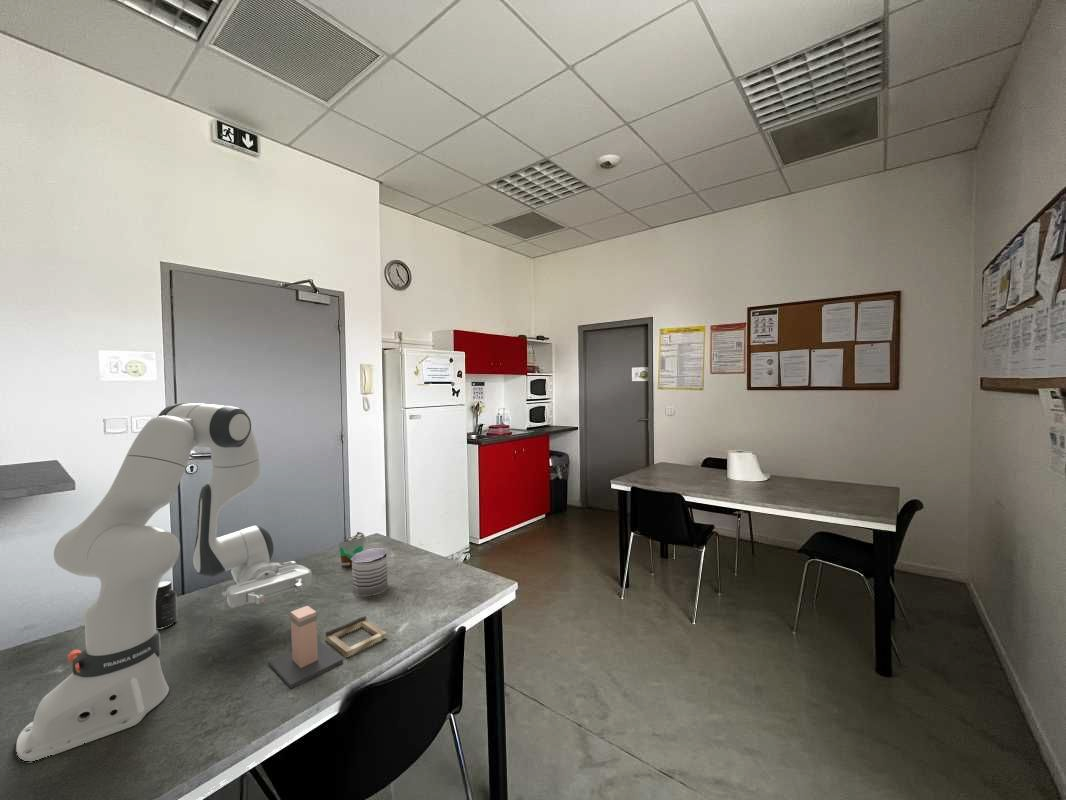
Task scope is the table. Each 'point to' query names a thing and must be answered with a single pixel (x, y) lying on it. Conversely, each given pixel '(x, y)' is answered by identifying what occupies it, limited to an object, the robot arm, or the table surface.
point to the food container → (351, 548)
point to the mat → (299, 675)
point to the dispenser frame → (348, 627)
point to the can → (369, 572)
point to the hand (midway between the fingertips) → (281, 594)
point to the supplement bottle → (165, 605)
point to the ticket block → (304, 636)
